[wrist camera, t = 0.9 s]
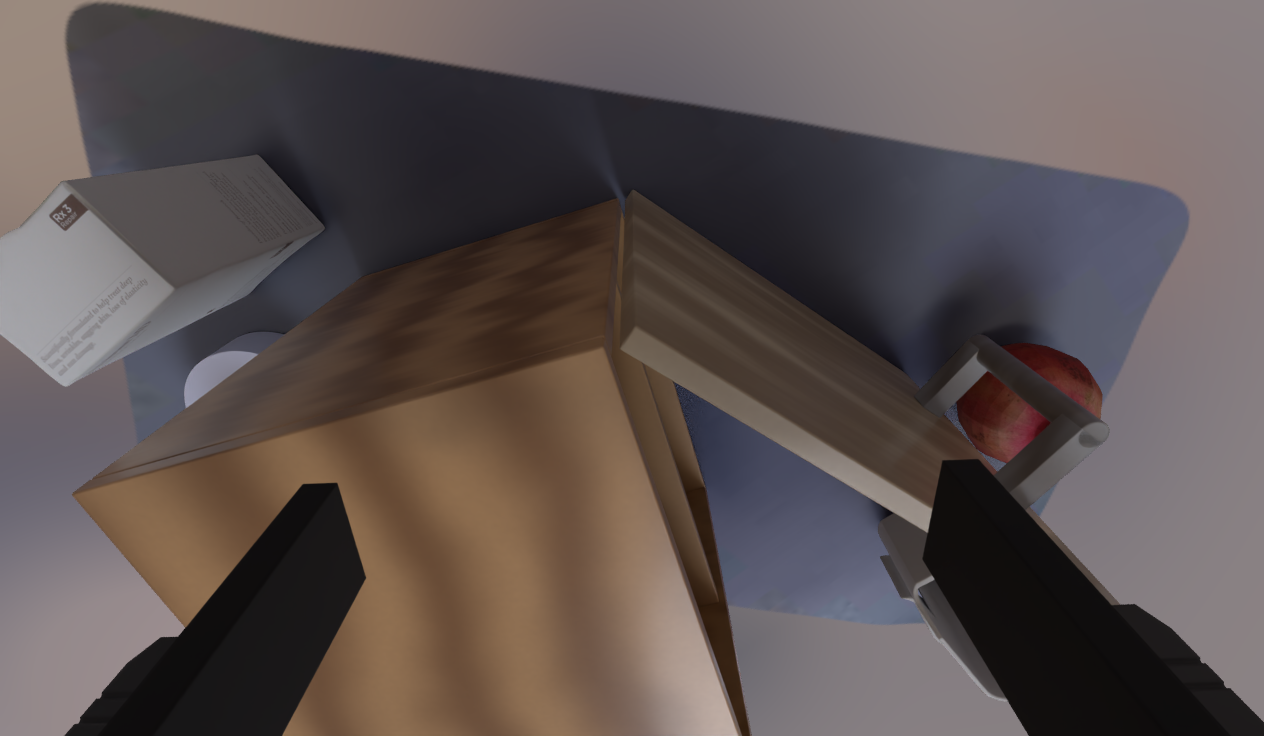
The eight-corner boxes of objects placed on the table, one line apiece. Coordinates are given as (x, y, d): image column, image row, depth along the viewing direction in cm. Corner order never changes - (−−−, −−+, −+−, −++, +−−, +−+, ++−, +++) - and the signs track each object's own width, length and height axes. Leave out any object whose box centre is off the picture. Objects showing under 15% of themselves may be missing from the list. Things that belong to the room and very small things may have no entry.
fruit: (913, 409, 45) (983, 492, 36) (967, 311, 42) (1060, 375, 33) (1009, 435, 46) (1101, 521, 37) (1070, 341, 43) (1187, 410, 34)
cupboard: (618, 197, 39) (603, 345, 17) (706, 489, 48) (766, 812, 27) (361, 276, 41) (69, 494, 20) (495, 540, 51) (397, 877, 29)
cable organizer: (922, 459, 47) (1009, 573, 36) (992, 555, 51) (1089, 683, 41) (847, 503, 49) (909, 624, 38) (921, 592, 53) (995, 724, 42)
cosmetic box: (248, 296, 41) (65, 401, 28) (173, 224, 39) (-64, 300, 26) (333, 222, 39) (179, 298, 26) (258, 142, 37) (47, 179, 24)
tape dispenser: (407, 438, 46) (271, 307, 42) (373, 493, 40) (210, 346, 36) (325, 495, 49) (188, 376, 44) (282, 554, 43) (118, 424, 38)
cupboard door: (680, 113, 36) (748, 164, 15) (960, 317, 42) (1289, 557, 21) (624, 200, 39) (618, 349, 18) (897, 383, 44) (1139, 660, 23)
